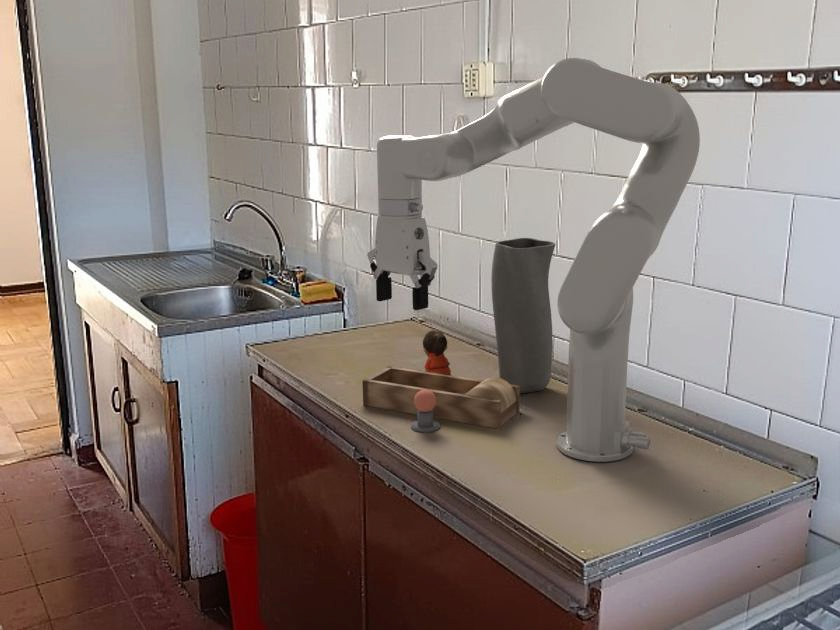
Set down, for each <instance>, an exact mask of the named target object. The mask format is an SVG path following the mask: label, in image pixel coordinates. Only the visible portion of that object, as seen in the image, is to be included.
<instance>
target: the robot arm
mask: <svg viewBox="0 0 840 630" xmlns="http://www.w3.org/2000/svg"><path fill="white" fill-rule="evenodd" d="M573 123H574V124H575V123H576V124H579V125H581V126H583V127H586V128H590V129H592V130H597V131H599V132H603V133H605V134H608V135H611V136H613V137H617V138H620V139H622V140H626V141H629V142H631V143H639V144H641V149H640V151H639V154H638V156H637V159H636V161H635V162H634V164H633V166H632V168H630V169H631V170H630V172H629V174H628V176H627V179H626V180H625V183H624V185H623V186H622V188H621V190H620V192H619V194H618V196H617V198H616V200H615V202H614V203H613V205H612V206H611V207H610V208H609V209H607V211H605V212H604V213H602V214H601V215H600V216H599V217H598V218H597V219H596V220H595V221H594V222H593V224H591V227H590V228H589V230H588V232H587V233H586V236H585V238H584V240H583V242H582V244H581V245H580V248H579V250H578V252H577V254H576V256H575V258H574V260H573V262H572V264H571V266H570V268H569V270H568V272H567V274H566V277H565V278H564V280H563V282H562V285H561V287H560V289H559V293H558V296H557V311H558V314H559V317H560V319H561V321H562V322H563V323H564V325H565V326H566V327H567V328H568V329H570V331H569V342H568V343H569V344H568V368H567V369H568V370H567V373H568V374H567V395H566V397H567V398H566V401H567V403H566V404H567V405H566V428H565V429H566V431H563V432H562V433H560V434H558V436H557V437H556V447H557V449H558V450H559V452H561V453H562V454H564V455H565V456H568V457H569V458H570V457H571V458H573V459H576V460H581V461H585V462H594V463H595V462H596V463H604V462H605V463H606V462H607V463H608V462H615V461H620V460H623V459H625V458H627V457H629V456H631V454H632V453H633V451H634V448H636V449H641V450H649V449H650V446H651V445H650V444H651V438H650V437H647V433H646V432H640V431H633V429H631V428H630V423H631V422H630V421H627V420H626V404H627V403H626V402H627V400H626V399H627V385H628V384H627V380H628V362H629V344H630V334H631V321H632V315H633V305H634V287H635V284H636V282H637V280H638V278H639V276H640V274H641V273H642V271H643V269H644V267H645V265H646V264H647V262H648V260H649V259H650V258H651V256H652V255H653V254H654V253H655V251H656V250H657V249H658V246H659V244H660V242H661V238H662V236H663V234H664V231H665V229H666V228H667V225H668V224H669V221H670V220H671V218H672V216H673V213H674V212H675V210H676V207H677V205H678V203H679V201H680V199H681V198H682V197H681V196H682V195H683V193H684V191H685V188H686V187H687V185H688V183H689V182H690V179H691V177H692V174H693V173H694V169H695V167H696V164H697V161H698V157H699V152H700V146H701V145H700V143H701V142H700V141H701V138H700V137H701V136H700V134H701V133H700V129H699V124H698V120H697V116H696V115H695V113H694V111H693V108H692V107H691V106H690V104H689V102H688V101H687V100H686V98H685V97H684V96H683V95H682V94H681V93H680V92H679V91H678V90H677V89H676V88H674V87H672V86H671V85H668V84H666V83H663V82H656V81H655V82H650V81H648V80H647V81H646V80H644V79H640V78H637V77H633V76H630V75H625V74H624V73H623V74H622V73H620V72H617V71H614V70H610V69H608V68H605V67H601V65H599V64H598V63H597V62H595V61H592V60H590V59H585V58H581V57H580V58H579V57H569V58H564V59H560V60H558V61H557V62H555V63H554V64H553V65H552V66H550V67H549V68H548V69H547V71H546V72H545V73H544V75H543V76H542V77H539V78H538V79H536V80H534V81H532V82H529V83H528V84H525V85H524V86H522V87H520V88H517V89H516V90H513V91H511V92H509V93H507V94H505V95H503V96H502V97H501V98H500V99H499V100H498V101H497V103H496V105H495V106H494V107H493V109H492V110H491V111H489V112H488V113H487V114H485V115H483V116H481V118H479V119H477V120H475V121H472V122H471V123H469V124H467V125H465V126H463V127H461V128H459V129H457V130H455V131H451V132H448V133H441V134H440V133H439V134H432V135H431V134H430V135H425V136H421V137H420V136H419V137H416V136H414V135H402V134H401V135H386V136H385V135H384V136H382V137H380V138H379V139H378V140H377V143H376V161H377V162H376V164H377V166H376V167H377V169H376V170H377V171H376V172H377V197H378V198H377V199H378V200H377V201H378V204H377V205H378V206H377V207H378V215H377V219H376V227H375V242H374V246H375V247H374V248H373V249H371V250H370V251H368V252H367V254H366V256H367V259H368V261H369V264H370V265H369V266H370V269H371V270H372V273H373V276H372V277H373V278H374V280H375V288H376V289H375V290H376V293H375V294H376V297H375V298H376V301H377V302H384V301H388V300H391V299H392V298H393V294H392V293H393V289H392V287H393V286H392V285H393V284H392V283H393V282H392V277H391V276H390V274H391V273H393V274H397V275H402V276H409V277H410V279H411V281H412V283H413V285H414V287H412V289H411V291H412V310H413V311H420V310H423V309H428V308H429V287H430V286H431V285H432V281H434V279H435V274H436V272H437V270H438V267H439V265H438V263H437V262H436V261H435V260H434V259H432V258H431V251H430V250H431V249H430V239H429V238H430V237H429V231H428V226H427V221H426V217H425V216H423V210H424V205H423V204H422V202H423V200H422V199H423V198H422V180H423V181H426V182H440V181H445V180H448V179H453V178H456V177H460V176H463V175H466V174H469V173H470V172H472V171H474V170H477V169H478V168H481V167H482V166H485V165H487V164H489V163H491V162H493V161H495V160H498V159H500V158H501V157H503V156H506V155H507V154H509V153H512V152H515V151H517V150H520V149H522V148H523V147H525V146H528V145H530V144H532V143H534V142H536V141H538V140H540V139H542V138H544V137H545V136H548V135H550V134H552V133H554V132H556V131H559V130H560V129H563V128H565V127H568V126H570V125H572V124H573ZM419 277H420V278H419Z"/></svg>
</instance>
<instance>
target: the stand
mask: <svg viewBox="0 0 840 630" xmlns="http://www.w3.org/2000/svg"><path fill="white" fill-rule="evenodd" d="M416 415H417V420H415V421H413V422H412V423H411V424H410V428H411V430H412V431H414V432H419V433H432V432H436V431H439V429H440V428H441V425H440V423H439V422H438V421H436V420H434V417H433V410H431V411H428V412H422V411H420V410H418V411H417V414H416Z"/></svg>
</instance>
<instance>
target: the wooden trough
mask: <svg viewBox="0 0 840 630" xmlns="http://www.w3.org/2000/svg"><path fill="white" fill-rule="evenodd" d="M421 390H430V391H431V392H433V393H434V395H435V397H436V405H435V407H434V408H433V409H432V410H433V418H437V419H442V420H447V421H452V422H460V423H464V424H471V425H476V426H481V427H488V428H492V429H501V427H502V426H503V425H504V424H505V423H506V422H507V421H508V420H509V419H511V418H512V417H513V416H515V414H517V413H519V412H520V397H521V396H520V395H521V394H520V386H517V385H511V384H509V383H508V382H507V381H505V380H503V379H501V378H500V377H496V376H493V377H488V378H485V379H484V380H483V379H477V378H476V379H475V378H472V377H471V378H470V377H465V376H464V377H463V376H457V375H452V374H451V375H444V374H437V373H431V372H425V370H424V371H423V370H416V369H408V368H403V367H396V366H389V365H388V366H386V367H384V368H383V369H381V370H378V371H376V372H375V373H374V374H371V375H370V376H368V377H366V378H364V379H362V404H363V406H368V407H373V408H379V409H385V410H389V411H390V410H391V411H395V412H402V413H408V414H411V415H412V414H414V415H418V414H417V411H418V409H417V408H416V406H415V404H414V397H415V395H416V394H417V393H418V392H419V391H421Z"/></svg>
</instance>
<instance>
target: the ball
mask: <svg viewBox="0 0 840 630" xmlns="http://www.w3.org/2000/svg"><path fill="white" fill-rule="evenodd" d="M414 404H415V406H416V408H417V409H418V410H420V411H422V412H428V411H431V410H432V409H433V408H434V407H435V405H436V397H435V395H434V393H433V392H431V391H430V390H421V391H419V392H418V393H417V394H416V395H415V397H414Z"/></svg>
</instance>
